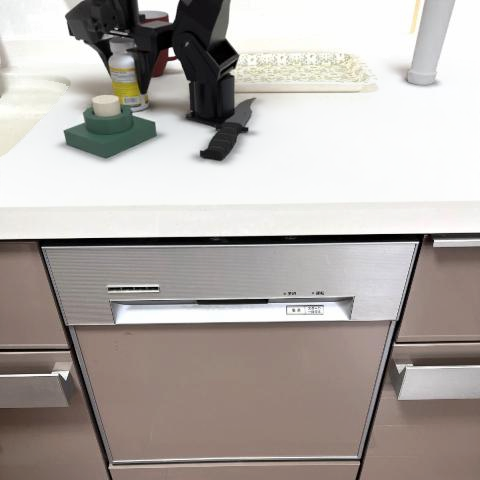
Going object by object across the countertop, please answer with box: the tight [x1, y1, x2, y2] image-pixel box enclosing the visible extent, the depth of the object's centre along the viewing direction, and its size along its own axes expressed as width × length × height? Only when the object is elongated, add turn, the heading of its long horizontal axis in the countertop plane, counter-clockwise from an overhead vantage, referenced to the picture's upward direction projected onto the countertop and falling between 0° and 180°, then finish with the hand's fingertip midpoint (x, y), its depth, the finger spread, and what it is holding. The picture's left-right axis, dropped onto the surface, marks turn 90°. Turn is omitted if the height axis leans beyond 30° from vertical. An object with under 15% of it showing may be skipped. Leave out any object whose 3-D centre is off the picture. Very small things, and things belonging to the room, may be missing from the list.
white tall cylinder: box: [406, 0, 456, 86], centre depth 82 cm, size 5×5×25 cm
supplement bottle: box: [109, 37, 150, 113], centre depth 75 cm, size 5×5×10 cm
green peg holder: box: [63, 104, 158, 159], centre depth 67 cm, size 8×10×4 cm
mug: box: [126, 10, 178, 78], centre depth 89 cm, size 11×8×10 cm
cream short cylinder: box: [91, 94, 121, 117], centre depth 65 cm, size 4×4×2 cm
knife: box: [199, 97, 257, 162], centre depth 72 cm, size 25×2×5 cm
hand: (130, 90), depth 77 cm, fingers closed on supplement bottle, 5 cm apart
